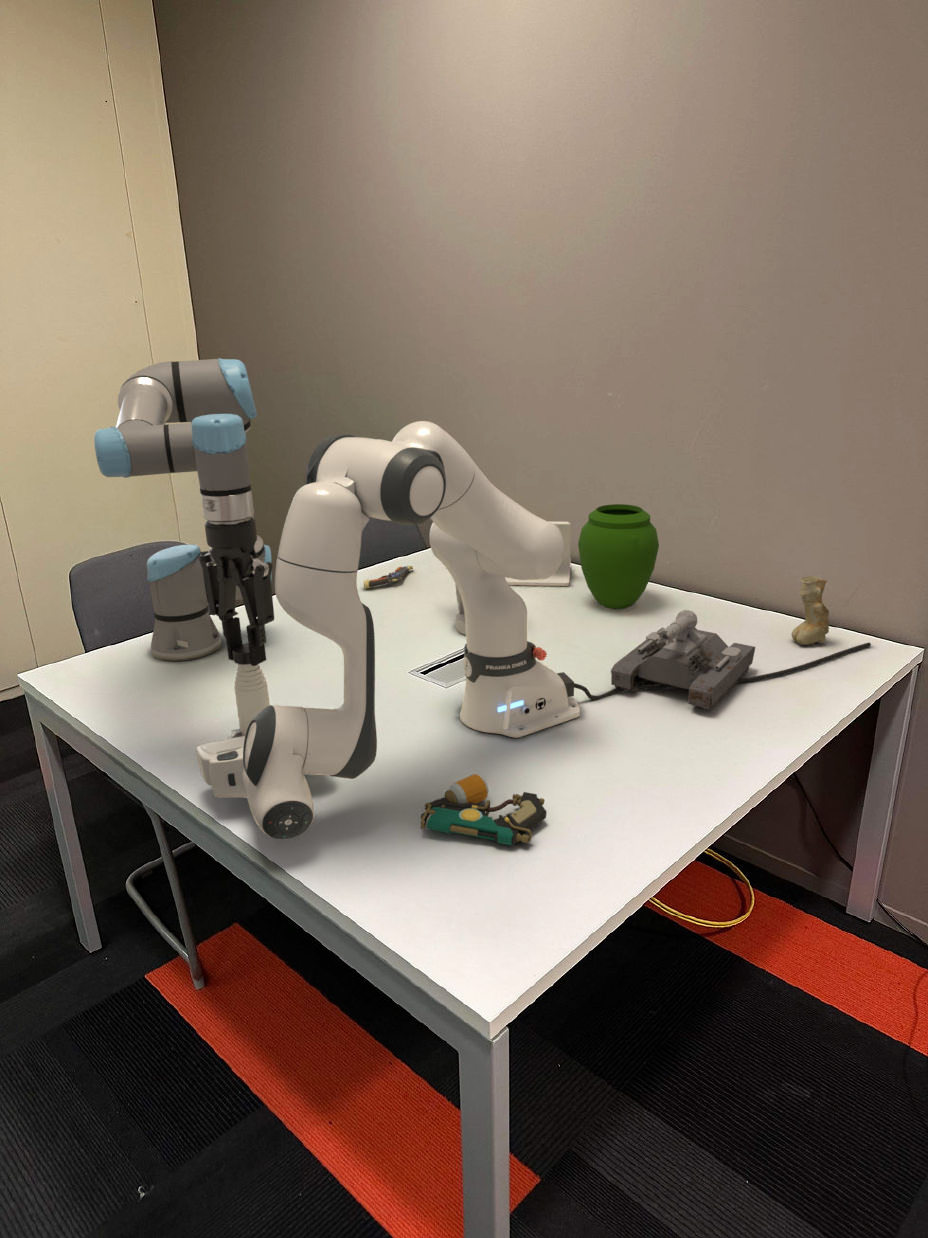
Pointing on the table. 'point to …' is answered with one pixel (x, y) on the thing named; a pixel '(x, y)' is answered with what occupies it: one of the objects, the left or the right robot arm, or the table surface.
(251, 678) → the bottle
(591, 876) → the table surface
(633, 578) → the vase
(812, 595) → the sculpture
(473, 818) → the spray gun
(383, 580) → the toy gun
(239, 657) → the cap
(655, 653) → the toy
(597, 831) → the table surface
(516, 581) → the tablet stand
